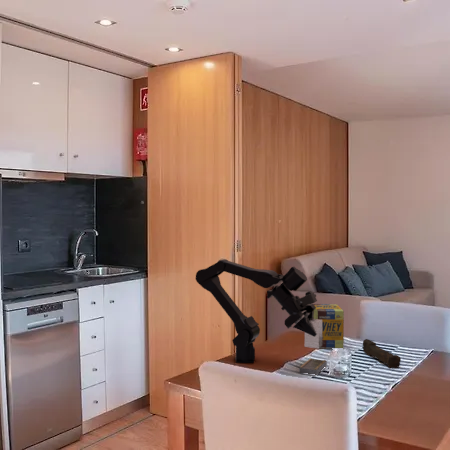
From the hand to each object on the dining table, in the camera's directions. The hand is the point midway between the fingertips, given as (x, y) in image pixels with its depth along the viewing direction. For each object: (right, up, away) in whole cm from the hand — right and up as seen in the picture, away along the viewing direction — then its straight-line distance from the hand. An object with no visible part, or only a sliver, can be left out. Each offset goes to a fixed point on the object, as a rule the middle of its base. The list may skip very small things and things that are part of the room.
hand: (317, 334), depth 179 cm
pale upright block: (-1, -4, +1) cm, 4 cm away
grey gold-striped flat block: (-1, -12, +1) cm, 13 cm away
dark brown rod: (+24, -12, +13) cm, 30 cm away
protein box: (+10, -12, +34) cm, 37 cm away
